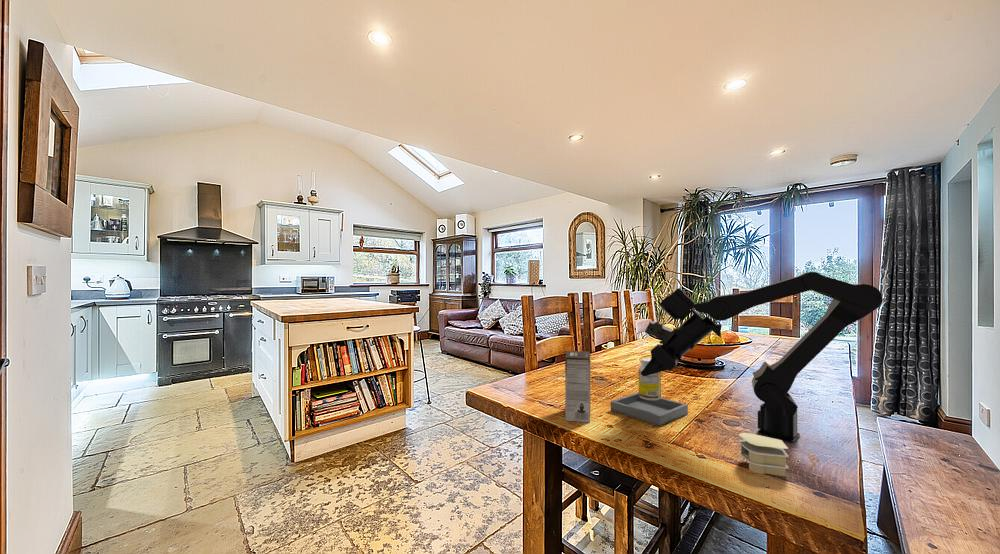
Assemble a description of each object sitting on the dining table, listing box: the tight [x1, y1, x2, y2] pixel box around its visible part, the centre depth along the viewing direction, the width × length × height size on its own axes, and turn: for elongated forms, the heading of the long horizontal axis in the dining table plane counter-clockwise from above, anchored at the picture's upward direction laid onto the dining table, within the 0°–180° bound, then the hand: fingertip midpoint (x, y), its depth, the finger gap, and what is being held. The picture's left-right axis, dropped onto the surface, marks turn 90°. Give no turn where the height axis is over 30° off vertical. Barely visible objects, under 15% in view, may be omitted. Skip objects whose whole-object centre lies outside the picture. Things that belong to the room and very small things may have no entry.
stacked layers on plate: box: [738, 432, 790, 478], centre depth 69 cm, size 10×9×6 cm
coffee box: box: [564, 350, 592, 423], centre depth 96 cm, size 9×6×16 cm
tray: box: [610, 391, 689, 428], centre depth 98 cm, size 14×14×2 cm
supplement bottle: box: [637, 357, 662, 401], centre depth 98 cm, size 6×6×10 cm
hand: (644, 372), depth 99 cm, fingers closed on supplement bottle, 6 cm apart
